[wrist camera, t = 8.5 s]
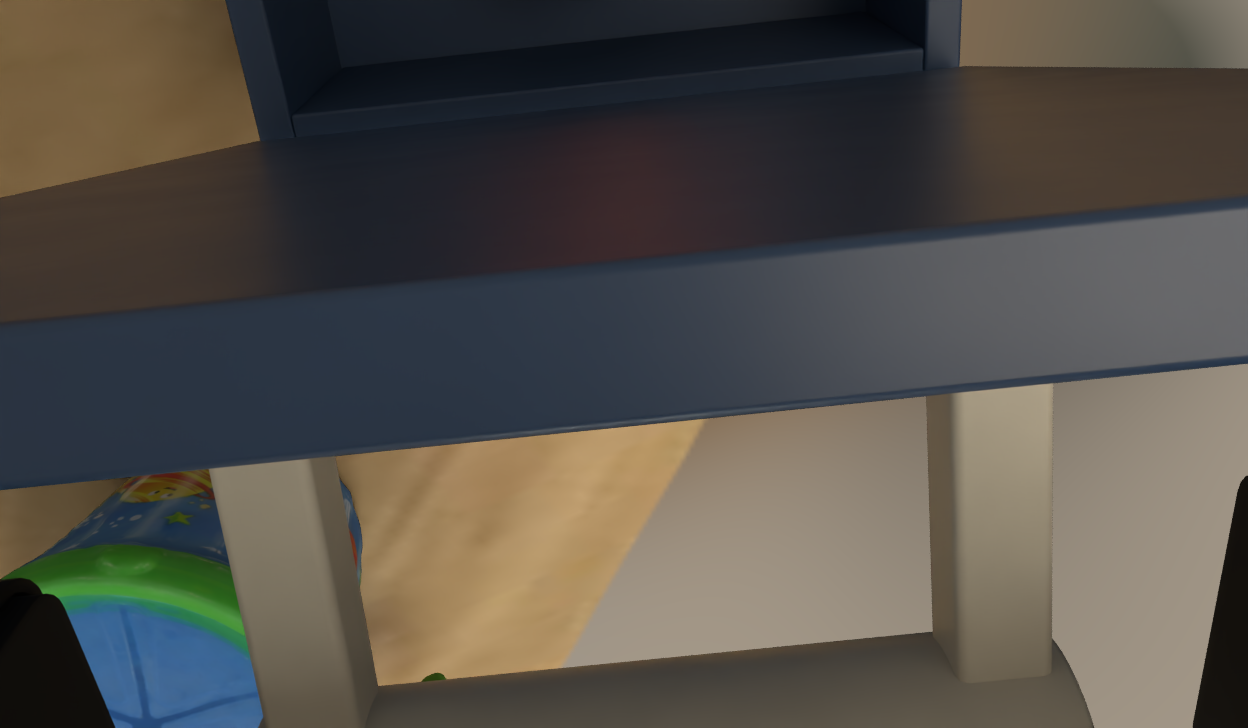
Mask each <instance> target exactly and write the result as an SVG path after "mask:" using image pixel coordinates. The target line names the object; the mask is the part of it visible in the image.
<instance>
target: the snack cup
mask: <svg viewBox="0 0 1248 728" xmlns="http://www.w3.org/2000/svg"><path fill="white" fill-rule="evenodd" d="M339 480H340V479H339ZM340 485H341V491H342V496H343V501H344V507H345V512H346V517H347V523H348V528H349V533H350V539H351V544H352V550H353V555H354V560H355V566H356V571H357V576H358V582H359V587H360V583H361V573H362V570H361V553H362V534H361V527H360V524H359V520H358V517H357V515H356V512H355V510H354V507H353V502H352V497H351V493H350V491H349V490H348V489H347V488H346V486H345V485H344V484H343V483H342V481H341V480H340ZM12 578H25V579H30V580H31V581H32V582H34V583H35V584H36V585H37V586H39V588H40V590H41V591H42V593H43V594H52V595H55V596H56V597H57V598H58V599H60V601H61V602H62V604H63V606H64V607H65V609H66V612H67V614H68V617H69V619H70V621H71V624H72V626H73V628H74V631H75V633H76V635H77V638H78V640H79V642H80V645H81V647H82V650H83V652H84V654H85V657H86V659H87V661H88V664H89V666H90V668H91V671H92V673H93V675H94V678H95V680H96V683H97V685H98V687H99V690H100V692H101V694H102V697H103V699H104V701H105V704H106V706H107V708H108V711H109V713H110V716H111V718H112V720H113V723H114V725H115V727H116V728H258V727H259V725H260V722H261V720H262V718H263V713H262V708H261V704H260V699H259V695H258V690H257V686H256V681H255V677H254V672H253V668H252V663H251V659H250V654H249V650H248V645H247V640H246V636H245V631H244V627H243V622H242V618H241V613H240V609H239V604H238V600H237V595H236V591H235V586H234V582H233V577H232V573H231V568H230V563H229V559H228V554H227V550H226V545H225V541H224V536H223V532H222V527H221V523H220V518H219V514H218V509H217V505H216V500H215V496H214V491H213V486H212V482H211V477H210V473H209V469H204V470H194V471H184V472H175V473H165V474H155V475H145V476H135V477H131V478H130V479H129V480H128V481H127V482H126V483H124V484H123V485H122V486H121V487H120V488H119V489H117V490H116V491H115V492H114V493H113V494H112V495H111V496H110V497H108V498H107V499H106V500H105V501H104V502H103V503H102V504H101V505H100V506H98V507H97V508H96V509H95V510H94V511H93V512H92V513H91V514H90V515H89V516H88V517H87V518H86V519H85V520H84V521H82V522H81V523H79V524H78V525H77V526H76V527H74V528H73V529H72V530H71V531H70V532H69V534H68V535H67V536H65V537H64V538H62V539H61V540H59V541H58V542H57V543H56V544H55V545H54V546H53V547H52V548H50V549H48V550H47V551H45V552H44V554H42V555H40V556H39V557H37V558H35V559H34V560H32V561H30V562H28V563H26V564H25V565H23V566H21V567H20V568H18V569H16V570H14V571H12V572H11V573H9V574H8V575H6V576H5V577H3V578H2V579H12ZM2 579H0V580H2ZM436 680H447V679H446V678H445V677H444V675H442V674H441V673H434V674H431V675H429V676H427V677H425V678H424V679H423V680H422V682H426V681H436Z"/></svg>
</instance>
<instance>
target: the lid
mask: <svg viewBox="0 0 1248 728" xmlns="http://www.w3.org/2000/svg"><path fill="white" fill-rule="evenodd" d="M1238 364H1248V69H1227V68H1221V69H1219V68H1106V67H1105V68H1104V67H1103V68H1102V67H1091V68H1090V67H982V66H981V67H978V66H974V67H973V66H963V67H953V68H944V69H934V70H925V71H915V72H906V73H897V74H887V75H878V76H868V77H859V78H849V79H840V80H831V81H821V82H812V83H802V84H793V85H784V86H774V87H765V88H755V89H746V90H736V91H727V92H718V93H708V94H699V95H689V96H680V97H670V98H661V99H652V100H642V101H633V102H623V103H614V104H604V105H595V106H586V107H576V108H567V109H557V110H548V111H539V112H529V113H520V114H510V115H501V116H491V117H482V118H473V119H463V120H454V121H444V122H435V123H425V124H416V125H407V126H397V127H388V128H378V129H369V130H359V131H350V132H341V133H331V134H322V135H312V136H303V137H294V138H284V139H275V140H265V141H256V142H251V143H247V144H242V145H238V146H233V147H229V148H224V149H220V150H215V151H210V152H206V153H201V154H197V155H192V156H188V157H183V158H179V159H174V160H170V161H165V162H161V163H156V164H151V165H147V166H142V167H138V168H133V169H129V170H124V171H120V172H115V173H111V174H106V175H102V176H97V177H93V178H88V179H83V180H79V181H74V182H70V183H65V184H61V185H56V186H52V187H47V188H43V189H38V190H34V191H29V192H24V193H20V194H15V195H11V196H6V197H2V198H0V490H7V489H17V488H27V487H37V486H47V485H56V484H66V483H76V482H86V481H96V480H106V479H115V478H125V477H135V476H145V475H155V474H165V473H175V472H184V471H194V470H204V469H209V473H210V477H211V482H212V486H213V491H214V496H215V500H216V505H217V509H218V514H219V518H220V523H221V527H222V532H223V536H224V541H225V545H226V550H227V554H228V559H229V563H230V568H231V573H232V577H233V582H234V586H235V591H236V595H237V600H238V604H239V609H240V613H241V618H242V622H243V627H244V631H245V636H246V640H247V645H248V650H249V654H250V659H251V663H252V668H253V672H254V677H255V681H256V686H257V690H258V695H259V699H260V704H261V708H262V713H263V718H262V720H261V722H260V725H259V727H258V728H1094V726H1093V722H1092V719H1091V716H1090V713H1089V710H1088V707H1087V704H1086V702H1085V699H1084V696H1083V694H1082V692H1081V689H1080V687H1079V684H1078V682H1077V680H1076V678H1075V675H1074V673H1073V671H1072V670H1071V667H1070V665H1069V663H1068V662H1067V660H1066V658H1065V656H1064V655H1063V653H1062V651H1061V650H1060V648H1059V647H1058V645H1057V644H1056V643H1055V641H1054V640H1053V639H1052V502H1053V501H1052V500H1053V493H1052V492H1053V491H1052V490H1053V383H1061V382H1071V381H1081V380H1090V379H1100V378H1109V377H1120V376H1130V375H1139V374H1150V373H1160V372H1169V371H1178V370H1189V369H1199V368H1208V367H1219V366H1228V365H1238ZM923 396H926V406H927V442H928V474H929V475H928V476H929V511H930V512H929V513H930V544H931V545H930V546H931V547H930V548H931V581H932V614H933V615H932V617H933V632H925V633H915V634H905V635H895V636H886V637H875V638H864V639H855V640H844V641H834V642H823V643H814V644H803V645H793V646H783V647H773V648H763V649H752V650H743V651H732V652H722V653H712V654H701V655H691V656H681V657H671V658H661V659H651V660H640V661H630V662H620V663H610V664H600V665H590V666H579V667H569V668H559V669H548V670H538V671H528V672H518V673H508V674H498V675H487V676H477V677H467V678H457V679H447V680H436V681H426V682H416V683H406V684H396V685H385V686H378V684H377V678H376V673H375V668H374V662H373V657H372V652H371V646H370V641H369V635H368V630H367V625H366V619H365V614H364V609H363V603H362V598H361V592H360V587H359V582H358V576H357V571H356V566H355V560H354V555H353V550H352V544H351V539H350V533H349V528H348V523H347V517H346V512H345V507H344V501H343V496H342V491H341V485H340V480H339V474H338V469H337V464H336V458H335V456H342V455H352V454H362V453H372V452H381V451H391V450H401V449H411V448H421V447H431V446H441V445H450V444H460V443H470V442H480V441H490V440H500V439H510V438H519V437H529V436H539V435H549V434H559V433H569V432H578V431H588V430H598V429H608V428H618V427H628V426H638V425H647V424H657V423H667V422H677V421H687V420H697V419H707V418H716V417H726V416H735V415H746V414H755V413H765V412H775V411H785V410H795V409H805V408H815V407H824V406H834V405H844V404H853V403H864V402H873V401H883V400H893V399H904V398H913V397H923Z"/></svg>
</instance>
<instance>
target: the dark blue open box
mask: <svg viewBox="0 0 1248 728" xmlns="http://www.w3.org/2000/svg"><path fill="white" fill-rule="evenodd" d="M225 1H226V5H227V9H228V13H229V17H230V21H231V25H232V29H233V33H234V37H235V41H236V45H237V49H238V53H239V57H240V61H241V65H242V69H243V73H244V77H245V81H246V85H247V89H248V93H249V97H250V101H251V105H252V109H253V113H254V117H255V121H256V125H257V129H258V133H259V137H260V141H265V140H275V139H284V138H294V137H303V136H312V135H322V134H331V133H341V132H350V131H359V130H369V129H378V128H388V127H397V126H407V125H416V124H425V123H435V122H444V121H454V120H463V119H473V118H482V117H491V116H501V115H510V114H520V113H529V112H539V111H548V110H557V109H567V108H576V107H586V106H595V105H604V104H614V103H623V102H633V101H642V100H652V99H661V98H670V97H680V96H689V95H699V94H708V93H718V92H727V91H736V90H746V89H755V88H765V87H774V86H784V85H793V84H802V83H812V82H821V81H831V80H840V79H849V78H859V77H868V76H878V75H887V74H897V73H906V72H915V71H925V70H934V69H944V68H953V67H959V61H960V36H961V9H962V0H225Z"/></svg>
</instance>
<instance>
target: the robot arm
mask: <svg viewBox="0 0 1248 728" xmlns="http://www.w3.org/2000/svg"><path fill="white" fill-rule="evenodd" d="M0 728H116V727H115V725H114V723H113V720H112V718H111V716H110V713H109V711H108V708H107V706H106V704H105V701H104V699H103V697H102V694H101V692H100V690H99V687H98V685H97V683H96V680H95V678H94V675H93V673H92V671H91V668H90V666H89V664H88V661H87V659H86V657H85V654H84V652H83V650H82V647H81V645H80V642H79V640H78V638H77V635H76V633H75V631H74V628H73V626H72V624H71V621H70V619H69V617H68V614H67V612H66V609H65V607H64V606H63V604H62V602H61V601H60V599H58V598H57V597H56V596H55V595H52V594H43V593H42V591H41V590H40V588H39V586H37V585H36V584H35V583H34V582H32V581H31V580H30V579H25V578H12V579H2V580H0ZM1193 728H1248V476H1246V477H1245V478H1244V479H1243V480H1242V482H1241V483H1240V486H1239V489H1238V492H1237V497H1236V503H1235V507H1234V513H1233V518H1232V523H1231V528H1230V533H1229V539H1228V544H1227V549H1226V554H1225V560H1224V565H1223V570H1222V575H1221V580H1220V586H1219V591H1218V596H1217V601H1216V606H1215V612H1214V617H1213V622H1212V627H1211V632H1210V638H1209V643H1208V648H1207V653H1206V658H1205V664H1204V669H1203V674H1202V679H1201V685H1200V690H1199V695H1198V700H1197V705H1196V710H1195V716H1194V721H1193Z"/></svg>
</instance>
